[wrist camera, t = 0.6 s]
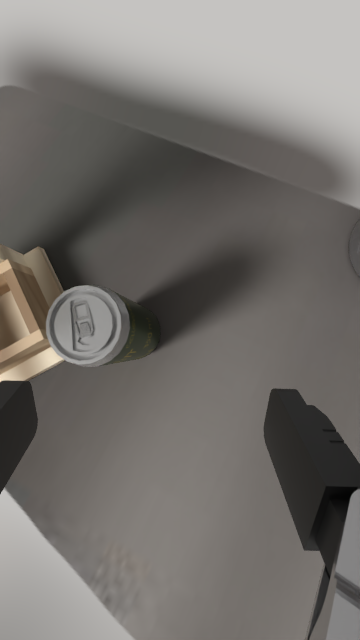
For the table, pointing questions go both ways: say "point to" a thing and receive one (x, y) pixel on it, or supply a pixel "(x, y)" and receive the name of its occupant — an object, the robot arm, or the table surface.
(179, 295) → the table surface
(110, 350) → the green metal cylinder
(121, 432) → the table surface
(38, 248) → the wooden dispenser stand
